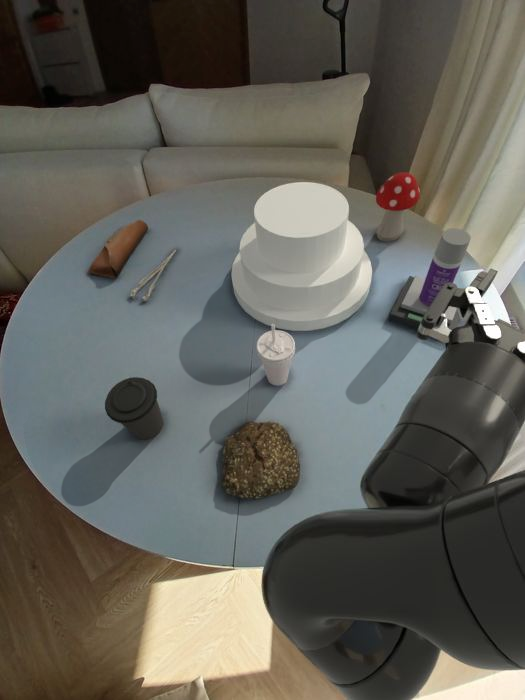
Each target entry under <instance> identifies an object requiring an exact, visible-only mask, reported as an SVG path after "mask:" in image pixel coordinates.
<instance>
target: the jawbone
mask: <svg viewBox="0 0 525 700" xmlns="http://www.w3.org/2000/svg"><path fill="white" fill-rule="evenodd" d="M176 251H177V249H174V251H173V252H172V253H171V254H170V255H168V256H167V258H165V259H164V260H163V261H162V262H161V263H160V264H159V265H158V266H157V267H156V268H154V269H153V270H152V271H151V272H149V273H148V274H147V275H146V276H144V277H143V278H142V279H141V280H140V281H139V282H138V283H137V285H135V286H134V288H133V289H131V291H130V293H129V295H130V297H131V298H132V299H134V300H135V298H136V294H137V293H138V291H139V290H140V289H142V288H143V287H144V286H145V285H146V284H147V283H148V281H149V280H151V279H152V278H153V277H154V276H155V275H156V277H155V279H154V280H153V282H152V283H151V285H150V287H149V289H148V292H147V293H146V294H144V296H142V297H141V299H142V300H143V302H147V301H148V300H149V298H150V296H151V293H152V292H153V290H154V288H155V285H156V284H157V281H159V278H160V277H161V275H162V273H163V271H164V270H165V268H166V266H167V265H168V263H169V262H170V261H171V259H172V258H173V256H174V255H175V253H176Z"/></svg>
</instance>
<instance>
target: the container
mask: <svg viewBox="0 0 525 700" xmlns="http://www.w3.org/2000/svg"><path fill="white" fill-rule="evenodd" d="M471 238H472V237H471V235H470V234H469V233H468V232H467V231H465V230H464V229H461V228H455V227H454V228H453V227H451V228H447V229H445V230H444V231H443V232H442V233H441V236H440V238H439V241H438V243H437V246H436V248H435V251H434V254H433V256H432V259H431V262H430V264H429V267H428V271H427V273H426V277H425V278H426V279H425V282H424V284H423V287H422V290H421V293H420V296H419V302H420V303H421V304H422V305H423V306H424V307H426V308H429V307H430V305H431V304H432V302H433V301H434V299H435V298H436V296H437V295H438V293H439V292H440V290H441V288H442V287H443V285H444V284H445V283H447V282H451V283H454V282H455V279H456V276H457V274H458V272H459V270H460V268H461V265H462V263H463V260H464V257H465V255H466V252H467V250H468V247H469V245H470V242H471Z"/></svg>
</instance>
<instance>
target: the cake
mask: <svg viewBox="0 0 525 700" xmlns="http://www.w3.org/2000/svg"><path fill="white" fill-rule="evenodd" d="M253 214H254V216H253V217H254V222H253V223H252V224H251V225H250V226H249V227H248V228H247V229H246V231H245V232H244V233H243V235H242V237H241V239H240V242H239V252H238V253H237V255H236V256H235V259H234V261H233V263H232V267H231V274H230V275H231V280H232V287H233V293H234V296H235V298H236V300H237V303H238V304H239V305H240V307H241V308H242V310H244V312H245V313H247V314H248V315H249V316H251V318H253V319H254V320H256V321H258V322H261V323H262V324H264V325H266V326H269V327H271V324H275V329H279V330H286V331H292V332H310V331H316V330H322V329H326V328H329V327H332V326H336V325H338V324H340V323H341V322H344V321H345V320H347V319H349V318H350V317H351V316H353V315H354V314H355V313H356V312H358V311H359V310H360V308H361V307H362V306H363V305H364V303H365V302H366V299H367V297H368V295H369V292H370V288H371V283H372V277H373V268H372V263H371V259H370V258H369V255H368V253H367V252H366V251H365V249H364V248H365V244H364V237H363V236H362V233H361V232H360V230H359V229H358V227H356V225H355V224H354V223H353V222H351V221H350V220H349V214H350V206H349V202H348V200H347V197H345V196H344V194H343V193H341V192H340V191H338V189H335V188H333V187H332V186H329V185H326V184H323V183H319V182H318V183H316V182H310V181H309V182H308V181H299V182H297V181H295V182H290V183H284V184H281V185H278V186H276V187H273V188H271V189H269V190H268V191H266V192H264V194H262V195H260V197H259V198H258V199H257V201H256V203H255V204H254V209H253Z"/></svg>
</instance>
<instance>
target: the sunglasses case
mask: <svg viewBox="0 0 525 700" xmlns="http://www.w3.org/2000/svg"><path fill="white" fill-rule="evenodd" d="M148 230H149V226H148V224H147V223H146V221H144V220H142V219H137V220H135V221H133V222H131V223H129V224H128V225H125V226H124V227H121V228H119V229H118V230H116V231H115V233H113V235H111V236H110V237H109V238H108V239H107V240H106V242H105V243H104V245H103V248H102V249H101V251H100V252H98V254H97V256H96V257H95V258H94V259H93V262H92V263H91V264H90V266H89V268H88V270H87V272H88V273H89V274H91V275H95V276H99V277H104V278H110V279H116V278H117V277H118V275H120V273H121V272H122V270H123V268H124V267H125V265H126V263H127V262H128V260H129V258H130V256H131V255H132V253H133V252H134V251H135V249H136V248H137V246H138V244H139V243H140V242H141V240H142V239H143V238H144V236H145V234H146V233H147V231H148Z"/></svg>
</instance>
